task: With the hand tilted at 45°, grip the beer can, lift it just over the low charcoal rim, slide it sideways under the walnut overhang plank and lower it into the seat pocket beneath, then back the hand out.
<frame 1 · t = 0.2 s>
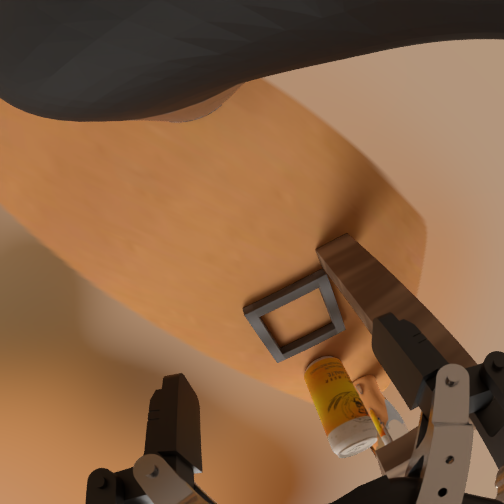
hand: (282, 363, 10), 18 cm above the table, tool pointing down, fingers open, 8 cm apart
overhang bracket: (297, 317, 33), on the table
beer can: (320, 366, 39), on the table
beer glass: (360, 384, 45), on the table
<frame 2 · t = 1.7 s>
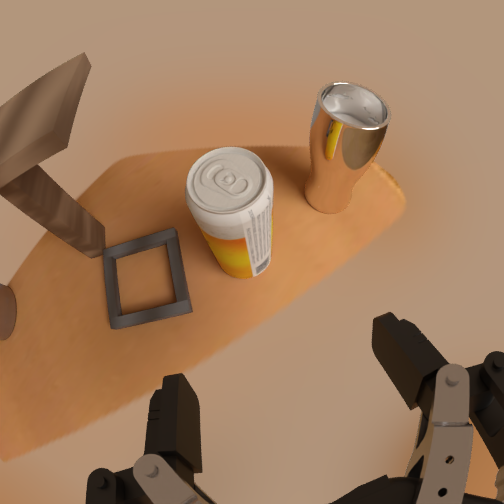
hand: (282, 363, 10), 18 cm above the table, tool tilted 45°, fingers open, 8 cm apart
overhang bracket: (145, 280, 31), on the table
beer can: (244, 254, 32), on the table
beer glass: (327, 193, 34), on the table
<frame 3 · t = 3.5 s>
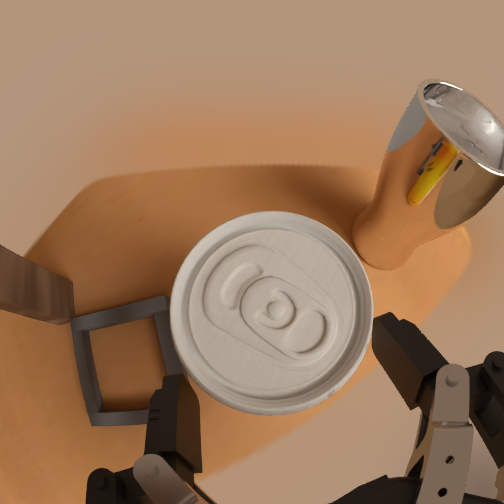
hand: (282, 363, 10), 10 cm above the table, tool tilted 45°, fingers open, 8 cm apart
overhang bracket: (129, 366, 20), on the table
beer can: (270, 336, 21), on the table
beer glass: (382, 238, 23), on the table
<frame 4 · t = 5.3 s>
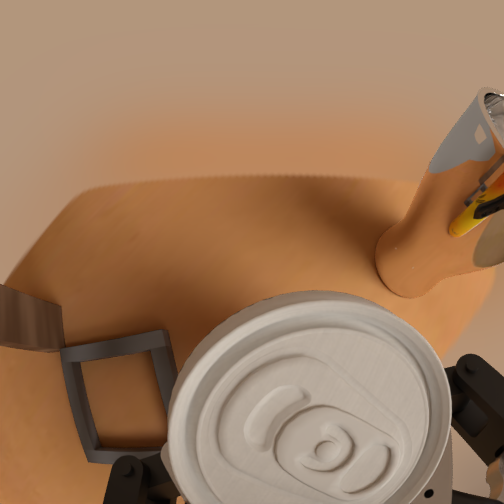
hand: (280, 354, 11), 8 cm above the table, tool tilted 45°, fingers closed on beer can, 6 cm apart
overhang bracket: (125, 403, 17), on the table
beer can: (282, 375, 18), on the table, touching gripper
beer glass: (406, 262, 20), on the table
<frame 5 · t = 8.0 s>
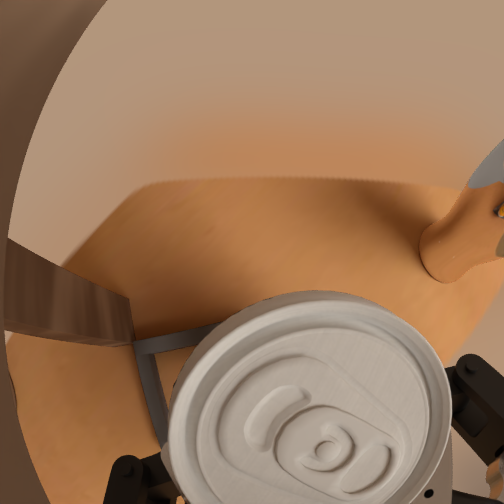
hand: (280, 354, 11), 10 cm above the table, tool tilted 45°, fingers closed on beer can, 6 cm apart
overhang bracket: (207, 389, 20), on the table
beer can: (282, 375, 18), point 2 cm above the table, touching gripper
beer glass: (442, 253, 23), on the table
when the fingers open (9 cm above the table, at t = 10.9 s): beer can drops 1 cm, resting in overhang bracket.
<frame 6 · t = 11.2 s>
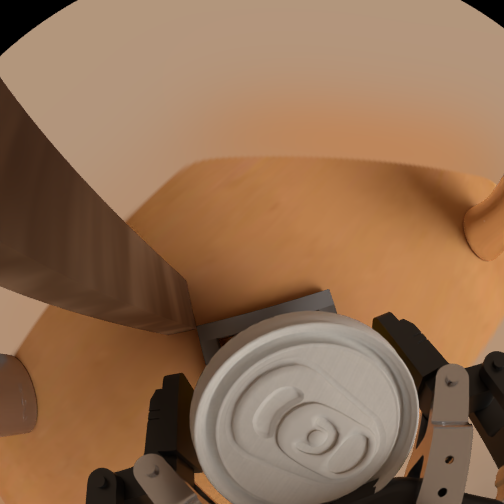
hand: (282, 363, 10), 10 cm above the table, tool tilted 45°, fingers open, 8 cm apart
overhang bracket: (281, 374, 19), on the table
beer can: (282, 376, 19), resting in overhang bracket
beer glass: (481, 234, 22), on the table
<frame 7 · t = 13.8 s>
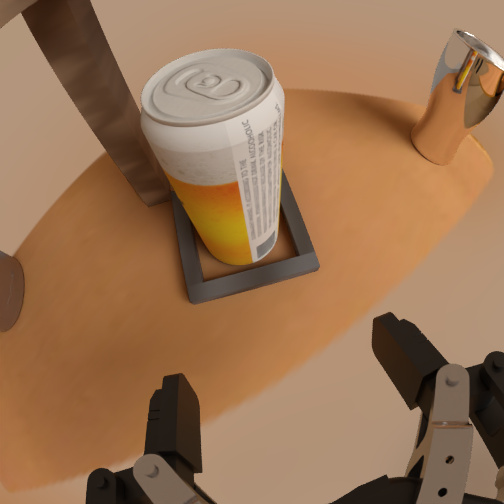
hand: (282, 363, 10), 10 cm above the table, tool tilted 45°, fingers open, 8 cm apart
overhang bracket: (240, 231, 23), on the table
beer can: (241, 234, 23), resting in overhang bracket
beer glass: (431, 146, 26), on the table
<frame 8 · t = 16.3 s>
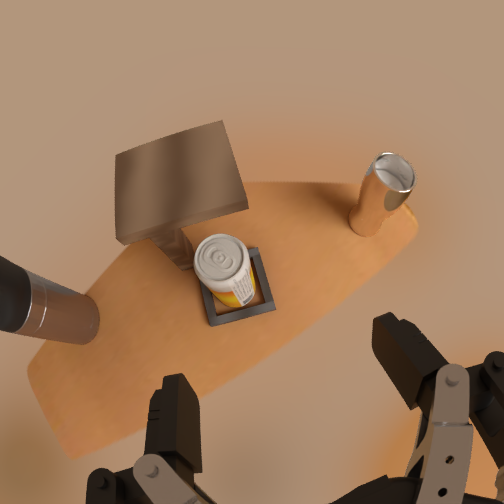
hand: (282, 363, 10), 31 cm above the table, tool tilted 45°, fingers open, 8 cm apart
overhang bracket: (235, 287, 43), on the table
beer can: (236, 289, 43), resting in overhang bracket
beer glass: (364, 221, 46), on the table
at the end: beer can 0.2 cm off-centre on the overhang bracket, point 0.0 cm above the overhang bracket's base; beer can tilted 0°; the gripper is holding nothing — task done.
